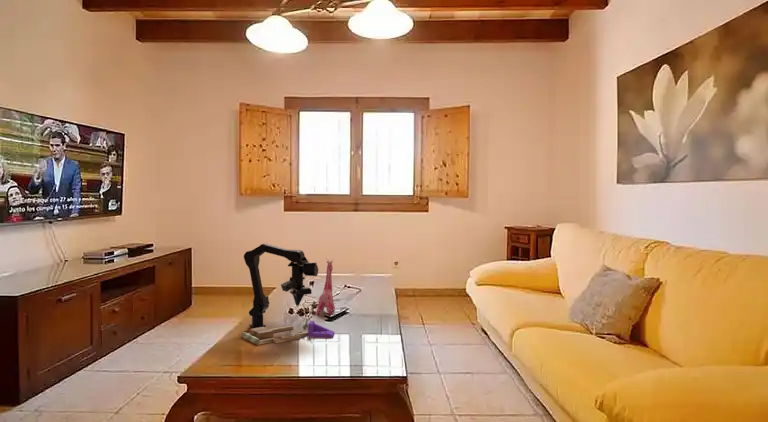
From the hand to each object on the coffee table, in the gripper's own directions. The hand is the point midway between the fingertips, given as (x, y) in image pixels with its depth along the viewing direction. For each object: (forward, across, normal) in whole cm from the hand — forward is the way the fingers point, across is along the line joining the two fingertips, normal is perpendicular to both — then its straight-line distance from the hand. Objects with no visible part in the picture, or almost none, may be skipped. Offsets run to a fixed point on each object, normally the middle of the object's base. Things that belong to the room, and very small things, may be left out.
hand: (297, 305), depth 295 cm
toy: (+12, -24, +32) cm, 42 cm away
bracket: (+13, +18, +3) cm, 22 cm away
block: (+12, +6, -23) cm, 26 cm away
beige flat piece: (+12, +7, -15) cm, 21 cm away
